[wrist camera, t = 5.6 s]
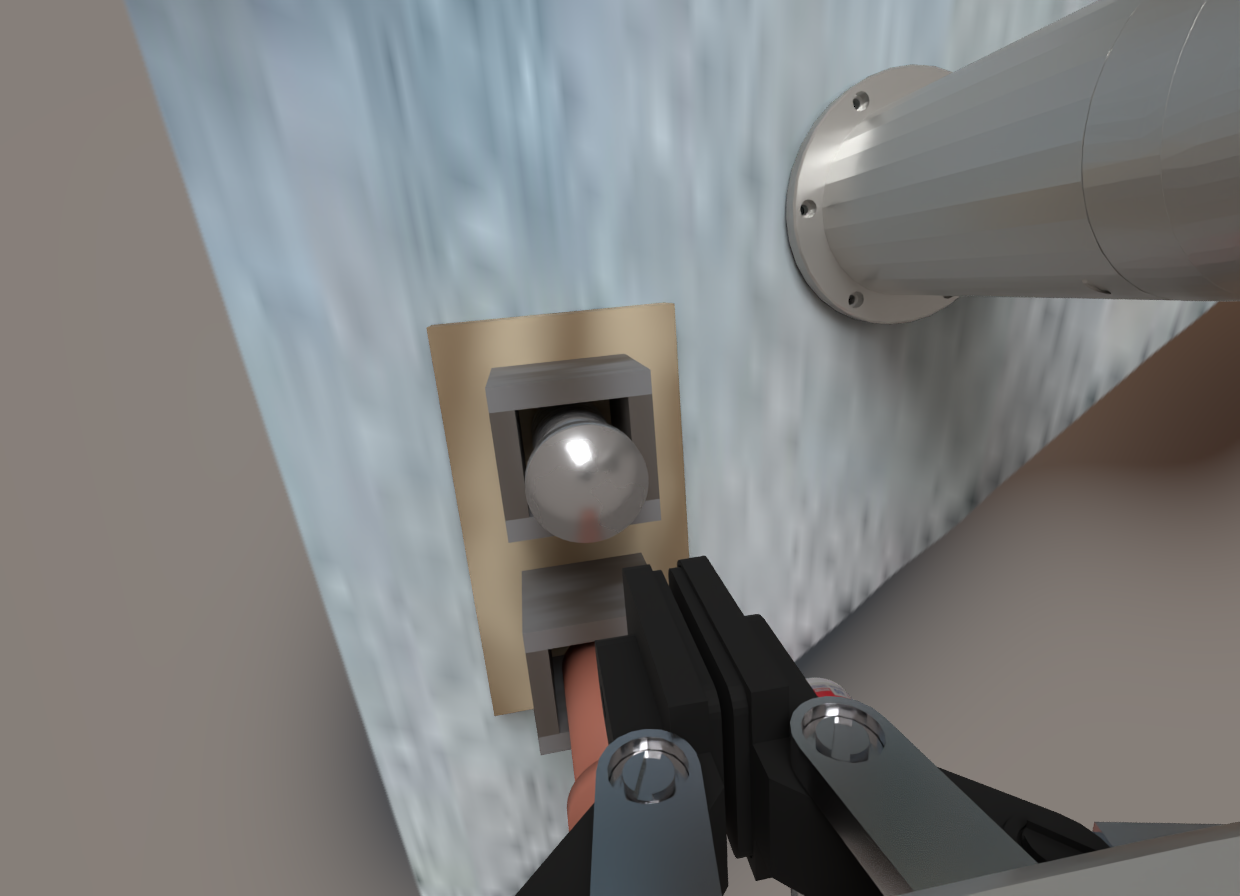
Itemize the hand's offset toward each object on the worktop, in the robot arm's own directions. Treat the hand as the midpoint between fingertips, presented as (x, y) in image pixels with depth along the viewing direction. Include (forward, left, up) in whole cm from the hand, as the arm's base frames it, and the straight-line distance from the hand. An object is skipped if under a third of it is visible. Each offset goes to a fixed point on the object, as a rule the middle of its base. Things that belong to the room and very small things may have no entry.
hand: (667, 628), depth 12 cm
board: (0, +6, -21) cm, 22 cm away
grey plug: (0, 0, -19) cm, 18 cm away
